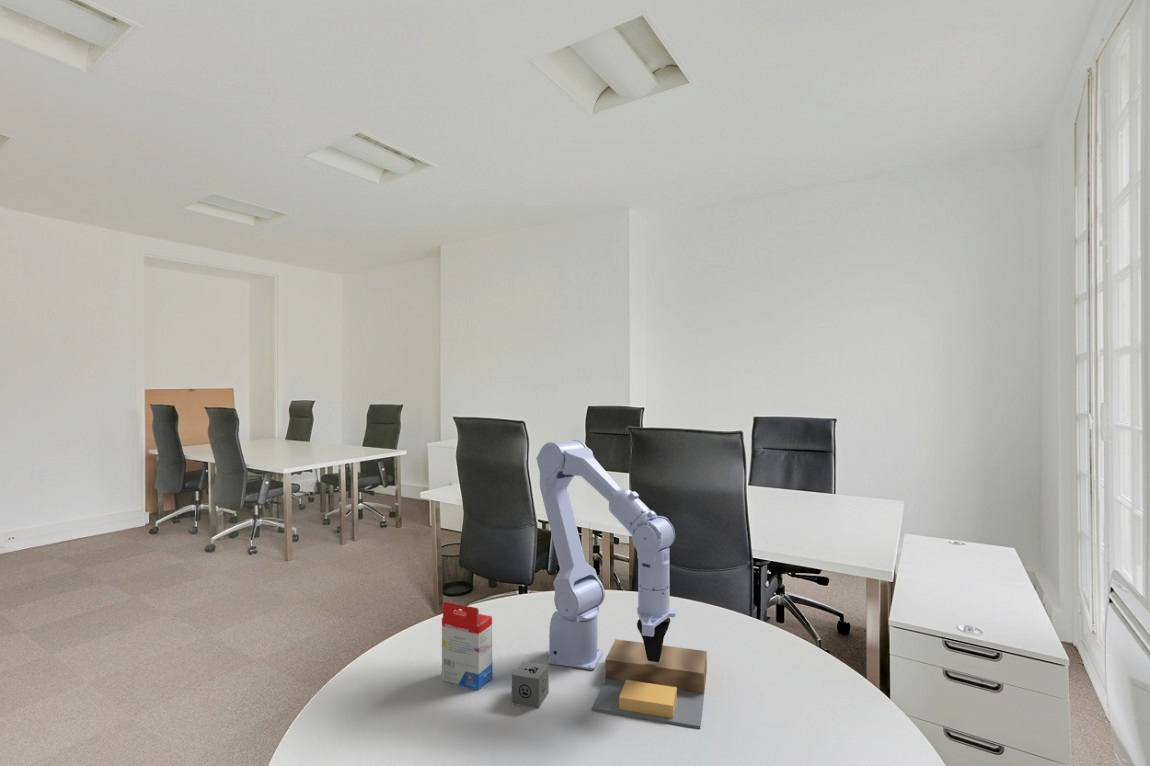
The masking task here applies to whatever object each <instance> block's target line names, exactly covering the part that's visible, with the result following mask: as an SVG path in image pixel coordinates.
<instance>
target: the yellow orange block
mask: <svg viewBox="0 0 1150 766" xmlns="http://www.w3.org/2000/svg"><path fill="white" fill-rule="evenodd" d="M676 701H677V687H671V686H664V685H658V684H651V683H644V682H638V681H631V680H626V681H625V684H624V686H623V689H622V691H621V694H620V696H619V709H621V710H627V711H633V712H639V713H645V714H651V715H657V716H663V717H669V718H673V716H674V711H675V706H676Z"/></svg>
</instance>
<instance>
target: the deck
mask: <svg viewBox="0 0 1150 766" xmlns="http://www.w3.org/2000/svg"><path fill="white" fill-rule="evenodd" d="M707 652H708V651H707V650H701V649H694V648H685V647H679V646H678V647H677V646H670V645H664V644H663V646H662V652H661V657H660V660H659V662H652V661H648V659H647V656H646V651H645V646H644V642H639V641H634V640H633V641H632V640H626V639H625V640H624V639H617V638H616V639H614V642H613V644H612V645H611V647H610V649H609V651H608V654H607V655H606V657H605V659H604V660H605V661H604V663H605V664H604V666H605V669H604V671H605V672H604V673H605V675H604V676H605V677H604V680H605V679H609V680H615V681H622V682H625V681H626V680H631V681H638V682H644V683H651V684H658V685H664V686H671V687H677V690H681V691H688V692H694V693H701V694H704V695H705V692H706V691H705V690H706V682H707V671H708V670H707V669H708V668H707V662H708V658H707V657H708V656H707Z"/></svg>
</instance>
